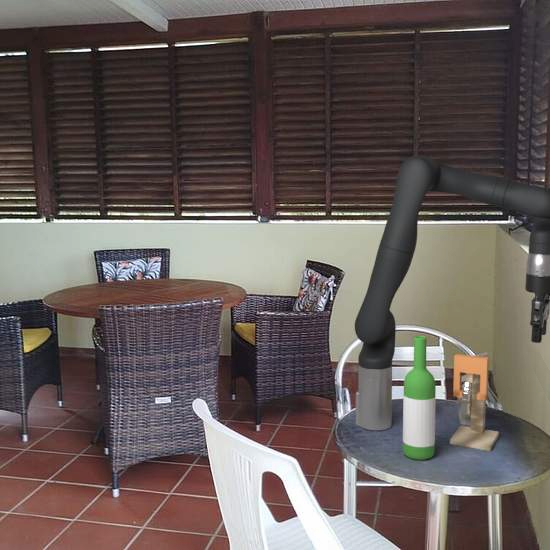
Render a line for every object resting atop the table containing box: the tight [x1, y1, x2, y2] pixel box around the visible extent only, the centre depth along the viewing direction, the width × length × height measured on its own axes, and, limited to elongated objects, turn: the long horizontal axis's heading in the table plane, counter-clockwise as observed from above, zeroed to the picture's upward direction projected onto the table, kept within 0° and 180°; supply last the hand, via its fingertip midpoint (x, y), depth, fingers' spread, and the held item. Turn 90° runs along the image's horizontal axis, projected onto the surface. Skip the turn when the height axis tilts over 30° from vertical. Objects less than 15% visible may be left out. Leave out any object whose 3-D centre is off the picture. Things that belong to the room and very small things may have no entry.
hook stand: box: [449, 373, 500, 452], centre depth 171 cm, size 10×14×20 cm
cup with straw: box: [456, 351, 489, 427], centre depth 184 cm, size 8×9×20 cm
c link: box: [452, 353, 490, 402], centre depth 166 cm, size 8×2×10 cm, turn 61°
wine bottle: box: [402, 335, 437, 461], centre depth 163 cm, size 8×8×30 cm
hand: (538, 338), depth 161 cm, fingers open, 8 cm apart
